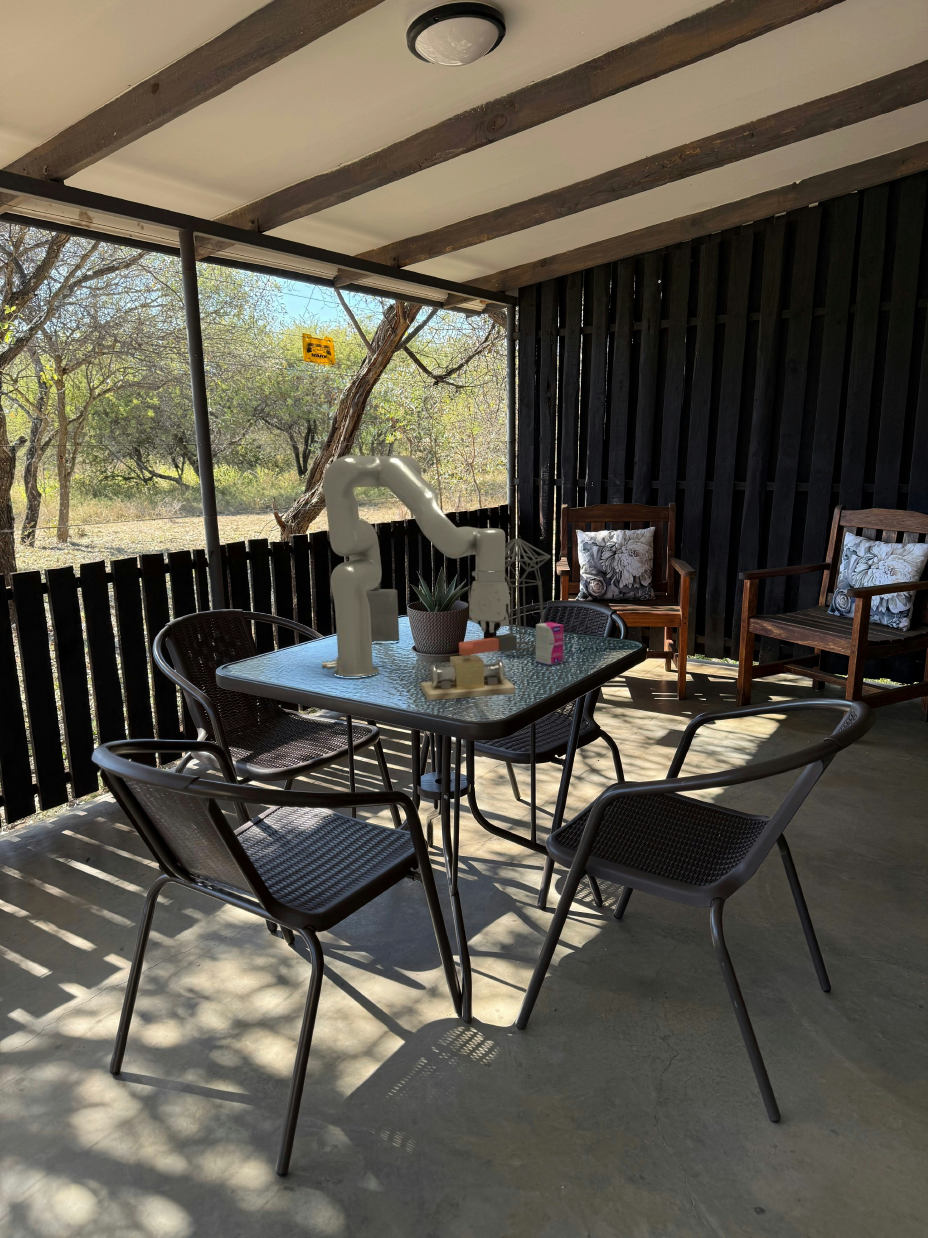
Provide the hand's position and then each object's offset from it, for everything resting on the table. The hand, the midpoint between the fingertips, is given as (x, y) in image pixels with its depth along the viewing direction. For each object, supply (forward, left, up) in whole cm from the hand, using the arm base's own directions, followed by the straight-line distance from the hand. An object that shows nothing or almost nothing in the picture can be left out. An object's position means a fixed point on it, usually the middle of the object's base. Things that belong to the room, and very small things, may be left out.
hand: (490, 646), depth 210 cm
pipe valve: (-8, -7, -10) cm, 14 cm away
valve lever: (-2, -5, -1) cm, 5 cm away
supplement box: (+21, +15, -10) cm, 28 cm away
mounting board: (-8, -7, -10) cm, 14 cm away
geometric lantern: (+16, +31, -10) cm, 36 cm away
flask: (-24, +61, -10) cm, 67 cm away
